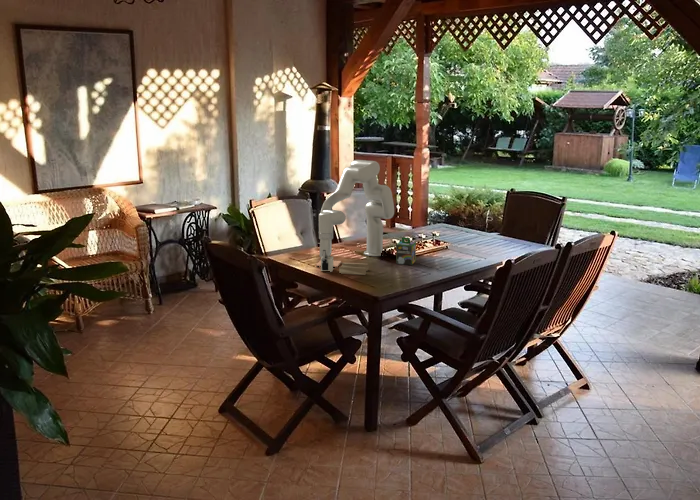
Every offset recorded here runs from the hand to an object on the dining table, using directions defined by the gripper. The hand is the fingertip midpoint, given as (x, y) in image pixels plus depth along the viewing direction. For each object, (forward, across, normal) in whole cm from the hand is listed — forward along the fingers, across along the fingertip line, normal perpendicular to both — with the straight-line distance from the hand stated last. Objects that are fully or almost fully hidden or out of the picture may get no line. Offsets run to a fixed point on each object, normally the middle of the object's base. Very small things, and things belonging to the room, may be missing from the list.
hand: (326, 268), depth 349 cm
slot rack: (+1, 0, +15) cm, 15 cm away
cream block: (+1, 0, 0) cm, 1 cm away
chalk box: (+2, -24, +41) cm, 47 cm away
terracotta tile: (+1, -12, -1) cm, 12 cm away
